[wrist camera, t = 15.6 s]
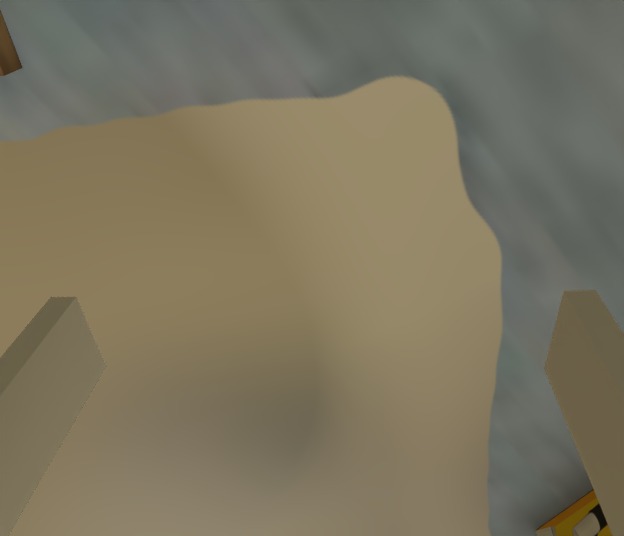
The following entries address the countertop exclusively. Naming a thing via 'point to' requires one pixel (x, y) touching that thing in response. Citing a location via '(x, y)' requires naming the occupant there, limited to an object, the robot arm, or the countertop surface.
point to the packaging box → (578, 520)
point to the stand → (7, 51)
